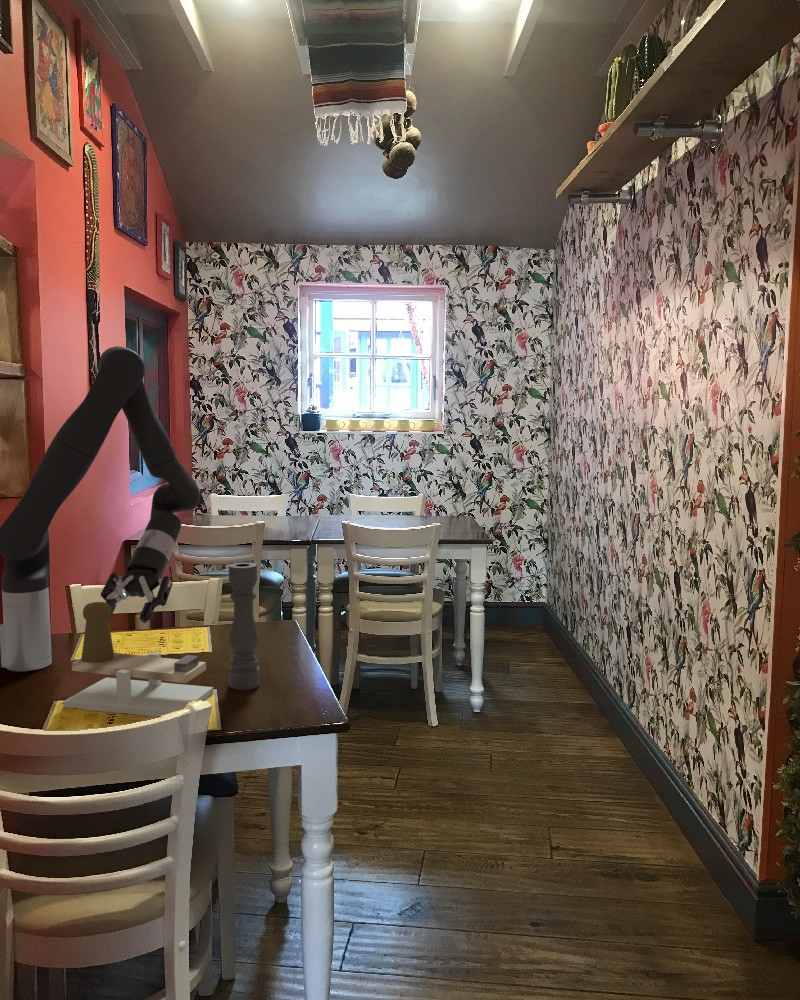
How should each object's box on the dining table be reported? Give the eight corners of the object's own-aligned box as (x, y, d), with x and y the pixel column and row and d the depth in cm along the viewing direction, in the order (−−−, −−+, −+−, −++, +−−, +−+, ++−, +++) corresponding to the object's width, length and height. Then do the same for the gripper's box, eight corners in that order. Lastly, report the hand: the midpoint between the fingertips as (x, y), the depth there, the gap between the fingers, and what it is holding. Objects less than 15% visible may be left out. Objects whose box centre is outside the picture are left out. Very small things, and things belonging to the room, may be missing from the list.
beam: (72, 674, 153) (71, 654, 152) (96, 661, 161) (96, 643, 160) (186, 687, 148) (186, 667, 147) (206, 673, 155) (206, 654, 155)
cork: (102, 664, 152) (102, 608, 151) (74, 661, 154) (73, 605, 152) (120, 654, 158) (119, 600, 157) (93, 652, 160) (92, 598, 158)
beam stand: (63, 707, 151) (61, 668, 150) (106, 683, 164) (105, 647, 163) (178, 719, 145) (177, 678, 144) (213, 693, 159) (212, 656, 158)
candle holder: (230, 691, 160) (228, 568, 157) (228, 681, 166) (226, 563, 163) (261, 688, 162) (259, 567, 159) (258, 678, 167) (256, 561, 165)
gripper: (115, 543, 173) (85, 608, 163) (175, 546, 170) (147, 612, 160) (130, 563, 179) (101, 626, 169) (187, 566, 175) (162, 631, 166)
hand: (124, 619), depth 164 cm, fingers open, 8 cm apart
